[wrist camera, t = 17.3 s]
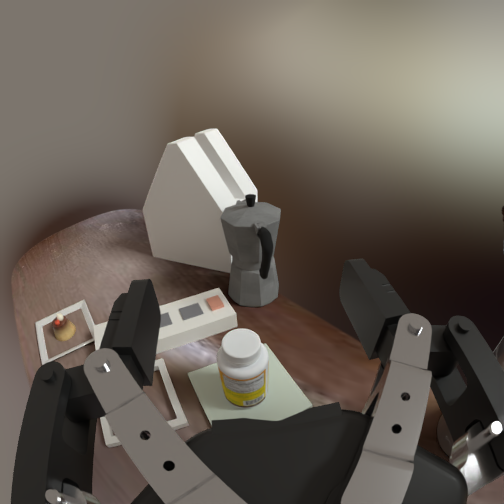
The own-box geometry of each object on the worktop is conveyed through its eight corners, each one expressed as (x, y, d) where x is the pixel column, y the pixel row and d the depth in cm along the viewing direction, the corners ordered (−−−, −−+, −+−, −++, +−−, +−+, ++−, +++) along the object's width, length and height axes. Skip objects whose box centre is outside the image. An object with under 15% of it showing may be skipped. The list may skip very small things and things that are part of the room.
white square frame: (164, 362, 38) (162, 357, 38) (189, 425, 30) (187, 421, 29) (96, 381, 34) (93, 377, 33) (109, 447, 26) (105, 444, 25)
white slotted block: (153, 257, 62) (131, 145, 49) (187, 225, 74) (176, 130, 61) (232, 273, 56) (222, 142, 43) (258, 236, 68) (255, 128, 55)
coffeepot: (221, 274, 56) (212, 184, 46) (267, 265, 58) (267, 178, 48) (239, 331, 43) (230, 225, 34) (296, 318, 45) (305, 214, 36)
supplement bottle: (237, 368, 37) (231, 316, 31) (275, 383, 35) (278, 332, 29) (215, 399, 33) (202, 351, 27) (255, 417, 30) (253, 372, 25)
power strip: (220, 300, 50) (218, 285, 48) (245, 338, 42) (244, 324, 40) (99, 337, 42) (92, 323, 40) (106, 384, 34) (97, 371, 32)
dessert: (45, 369, 35) (31, 350, 33) (37, 326, 43) (26, 308, 40) (102, 342, 41) (91, 321, 39) (86, 303, 49) (77, 284, 47)
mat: (265, 345, 41) (265, 343, 41) (312, 406, 32) (312, 405, 31) (188, 375, 36) (187, 373, 36) (223, 448, 27) (222, 447, 27)
